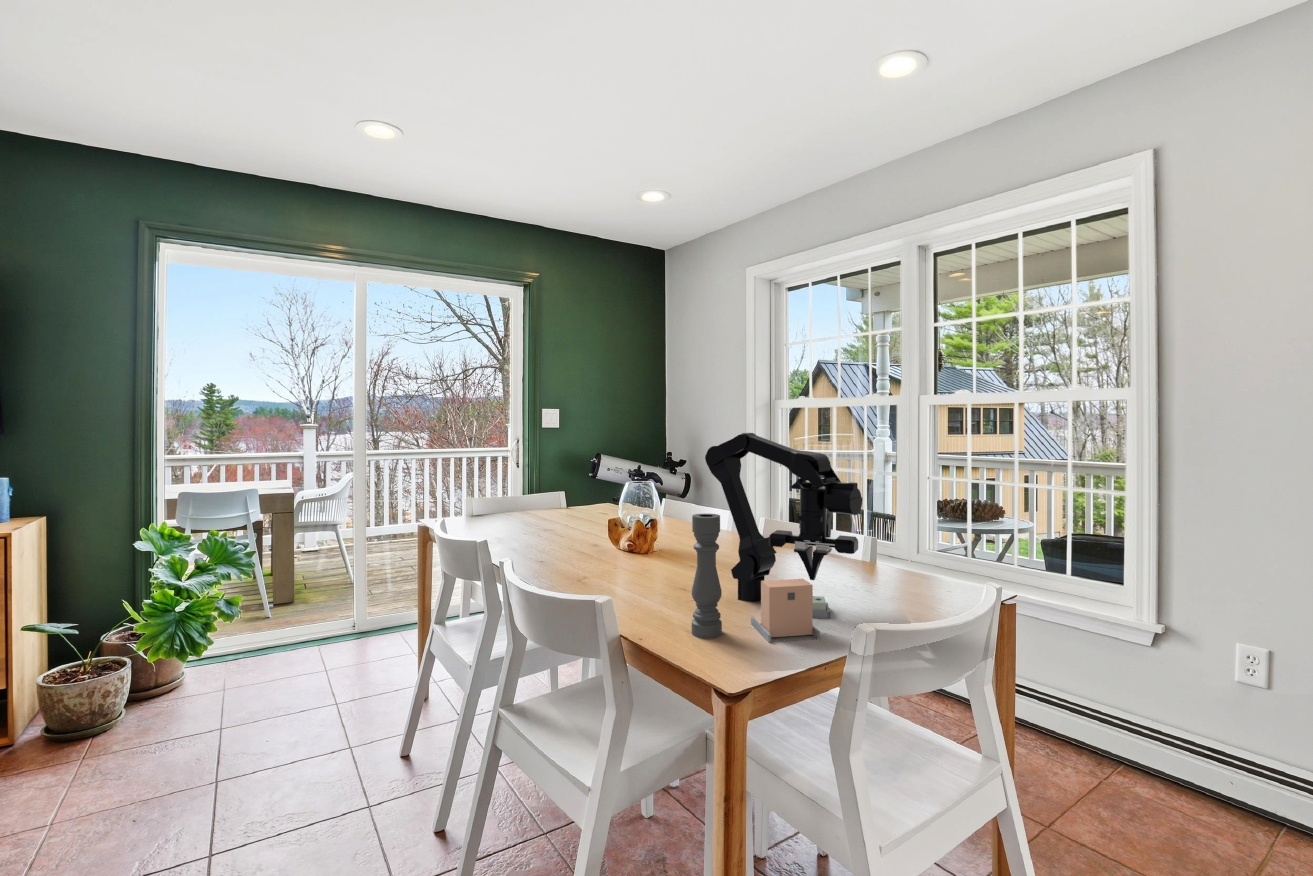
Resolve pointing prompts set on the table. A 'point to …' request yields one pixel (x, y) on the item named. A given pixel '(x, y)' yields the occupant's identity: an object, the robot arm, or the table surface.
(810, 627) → the salmon pink box
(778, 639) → the grey tray
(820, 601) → the sage button
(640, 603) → the table surface
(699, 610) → the candle holder
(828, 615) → the button bezel
